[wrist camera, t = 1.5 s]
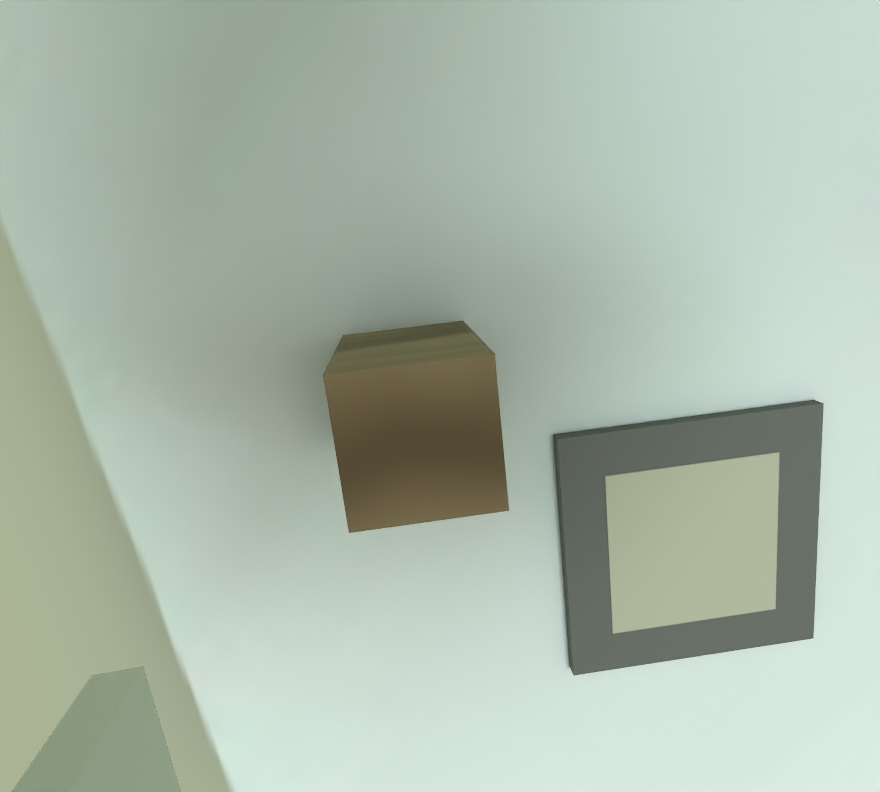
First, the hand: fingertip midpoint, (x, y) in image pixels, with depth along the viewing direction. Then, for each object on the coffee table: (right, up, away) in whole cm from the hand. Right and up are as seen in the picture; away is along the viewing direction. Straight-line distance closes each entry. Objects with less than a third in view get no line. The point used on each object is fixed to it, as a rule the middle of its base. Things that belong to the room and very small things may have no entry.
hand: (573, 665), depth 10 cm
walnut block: (-3, +5, +16) cm, 17 cm away
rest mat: (+9, -2, +19) cm, 22 cm away
